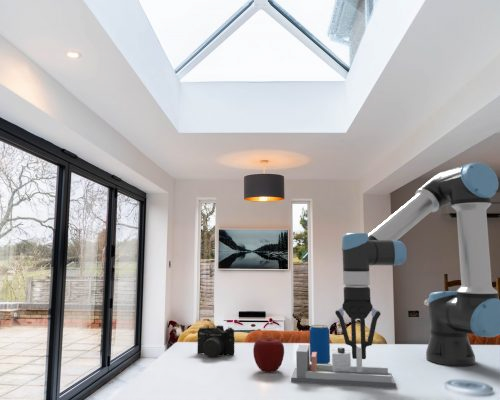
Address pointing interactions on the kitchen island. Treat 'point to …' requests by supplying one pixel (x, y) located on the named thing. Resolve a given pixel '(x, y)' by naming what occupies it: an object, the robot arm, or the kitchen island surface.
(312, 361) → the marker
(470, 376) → the kitchen island surface
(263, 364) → the apple
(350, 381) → the base
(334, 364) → the white cube with knob
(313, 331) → the beverage can
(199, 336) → the camera
